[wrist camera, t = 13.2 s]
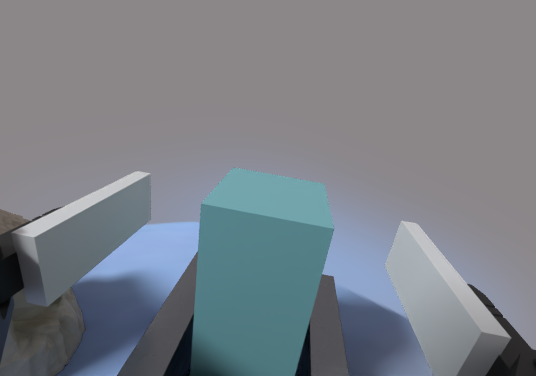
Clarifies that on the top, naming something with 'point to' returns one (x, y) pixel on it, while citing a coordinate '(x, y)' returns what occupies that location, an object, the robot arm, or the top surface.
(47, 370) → the ceramic cottage
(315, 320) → the grey block with holes
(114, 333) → the top surface
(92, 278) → the top surface
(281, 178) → the teal peg
